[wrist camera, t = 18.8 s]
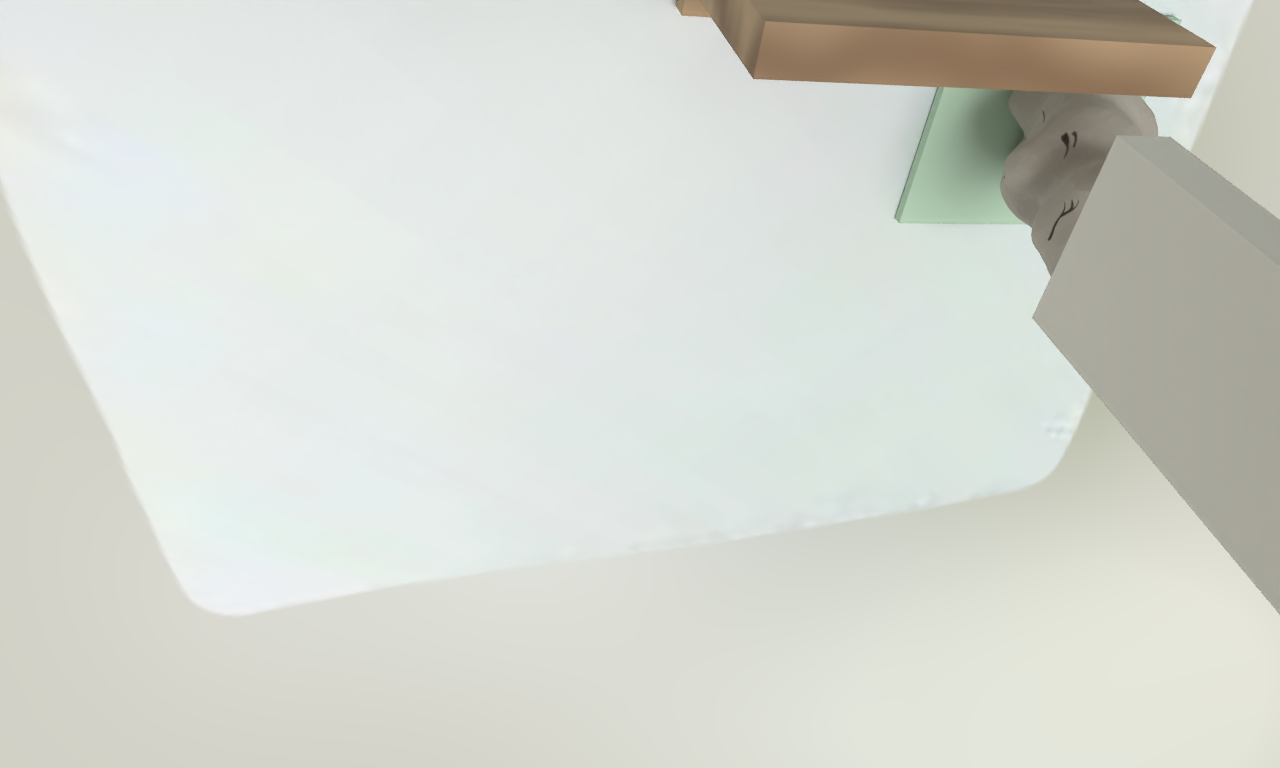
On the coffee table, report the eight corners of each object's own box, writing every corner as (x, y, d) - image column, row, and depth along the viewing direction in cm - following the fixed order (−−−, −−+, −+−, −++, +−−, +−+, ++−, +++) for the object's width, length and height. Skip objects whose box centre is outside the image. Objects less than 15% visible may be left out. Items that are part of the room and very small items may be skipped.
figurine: (947, 60, 49) (1114, 213, 38) (1133, 32, 50) (1349, 173, 39) (925, 210, 55) (1063, 382, 43) (1092, 183, 56) (1269, 344, 44)
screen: (685, -139, 41) (777, -42, 31) (1060, -104, 45) (1243, -7, 36) (665, 5, 45) (742, 132, 35) (1012, 26, 49) (1167, 145, 39)
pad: (965, 2, 48) (971, 7, 47) (1174, 16, 50) (1181, 20, 50) (895, 217, 55) (899, 223, 55) (1079, 219, 58) (1085, 224, 57)
